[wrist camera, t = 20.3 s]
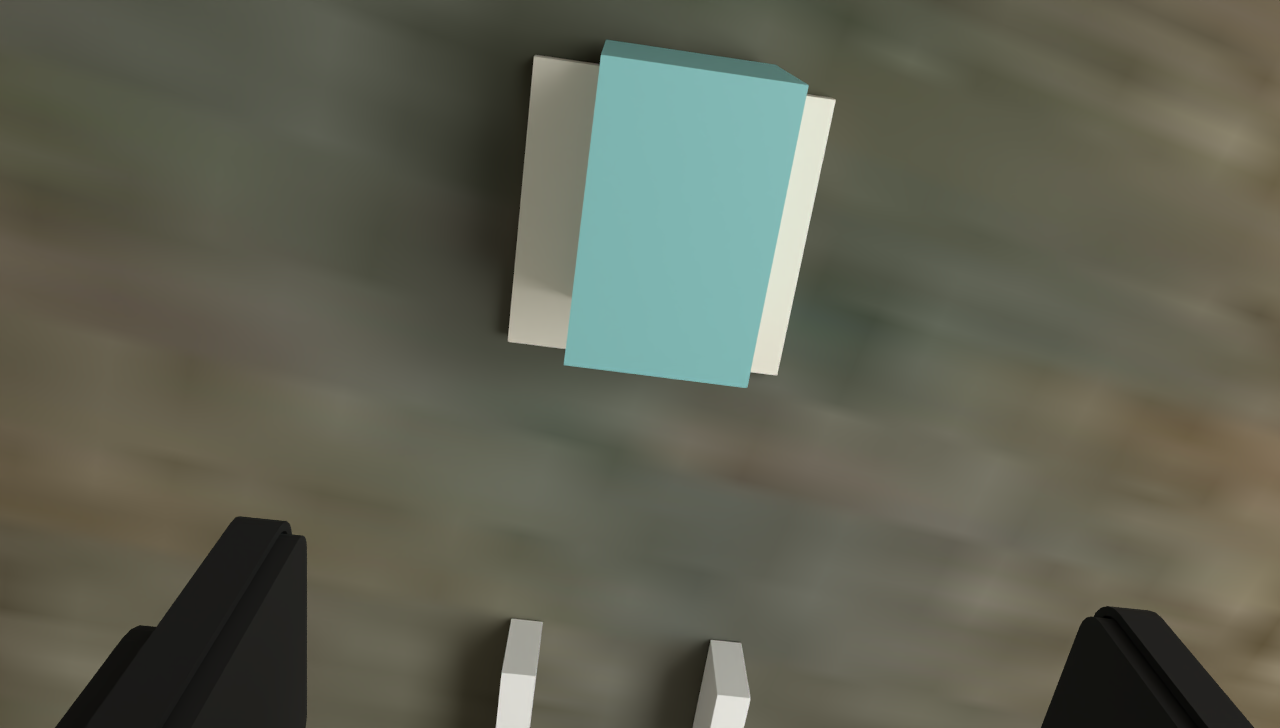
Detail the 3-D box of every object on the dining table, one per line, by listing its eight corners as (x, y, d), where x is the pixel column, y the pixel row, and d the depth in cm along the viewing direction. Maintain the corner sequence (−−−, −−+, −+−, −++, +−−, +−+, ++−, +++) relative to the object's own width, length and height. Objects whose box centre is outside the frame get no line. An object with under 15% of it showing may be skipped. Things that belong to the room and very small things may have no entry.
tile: (509, 335, 31) (507, 341, 31) (535, 54, 28) (533, 56, 27) (774, 368, 32) (777, 375, 31) (831, 97, 28) (835, 100, 28)
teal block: (574, 299, 30) (563, 364, 25) (606, 39, 27) (600, 54, 22) (727, 319, 31) (746, 388, 25) (775, 64, 28) (808, 85, 22)
